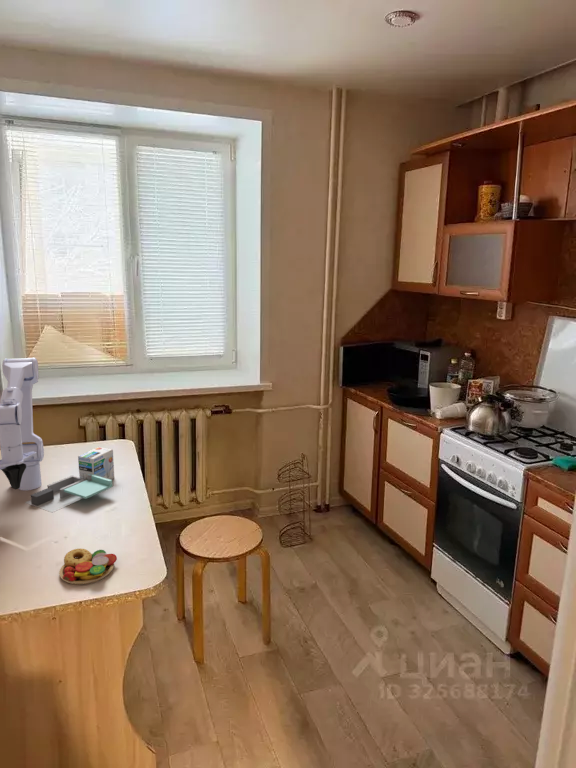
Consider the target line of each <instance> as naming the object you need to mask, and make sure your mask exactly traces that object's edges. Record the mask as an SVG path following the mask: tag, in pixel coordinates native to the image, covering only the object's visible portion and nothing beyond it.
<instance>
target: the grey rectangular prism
mask: <svg viewBox="0 0 576 768" xmlns="http://www.w3.org/2000/svg"><path fill="white" fill-rule="evenodd" d="M52 499H54V494H53V490H51V489H48V487H47V488H45V489H42V490H39V491H36V492H34V493H33V494H30V500H31V504H33V505H36V506H39V505H41V504H43V503H46V502H48V501H50V500H52Z"/></svg>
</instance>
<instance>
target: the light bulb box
mask: <svg viewBox="0 0 576 768" xmlns="http://www.w3.org/2000/svg"><path fill="white" fill-rule="evenodd" d="M77 460H78V472H79V473H78V475H79V478H82V479H85V480H87V475H88V474H93V475H96V476H100V477H103V478H106V479H110V480H113V479H115V465H114V450H113V448H112V449H111V448H106V447H101V446H97V447H94V448H93V449H91V450H89V451H87V452H85V453H82V454H80V455H78V456H77Z"/></svg>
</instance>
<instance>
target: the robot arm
mask: <svg viewBox="0 0 576 768" xmlns="http://www.w3.org/2000/svg"><path fill="white" fill-rule="evenodd" d="M1 365H2V367H1V368H2V373H3V374H2V375H3V376H4V377H5V379H6V381H7V386H6V388H4V389H3V390H2V393H1V396H0V454H1V455H0V456H1V459H0V471H1V472H3V474H4V475H5V477H6V478H7V481H8V482H9V484H10V488H11V489H13V490H20V491H32V490H36V489H38V488H40V487H41V486H42V474H41V472H42V471H41V463H40V462H42V461H43V460H44V455H45V449H44V441H43V439H42V437H40V436H39V435H37V434H35V433H34V416H33V415H34V414H33V388H34V387H33V386H34V385H35V384H37V383H38V382H39V378H40V376H39V375H40V374H39V363H38V359H37V358H36V357H23V358H21V357H19V358H17V357H16V358H7V357H5V358H4V359H3V361H2V364H1Z"/></svg>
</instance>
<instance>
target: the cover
mask: <svg viewBox="0 0 576 768" xmlns="http://www.w3.org/2000/svg"><path fill="white" fill-rule="evenodd" d="M113 486H114V485H113V479H111V480H110V479H106V478H103V477H100V476H96V475H93V474H88V475H87V480H85V481H83V482H81V483H78V484H76V485H74V486H71V487H69V488H66V489H64V492H66V493H69V494H73V495H76V496H79V497H82V498H83V499H85V500H87V499H89V498H91V497H93V496H95V495H97V494H100V493H103V492H104V491H106V490H109V489H110V488H111V489H112V488H113Z"/></svg>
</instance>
